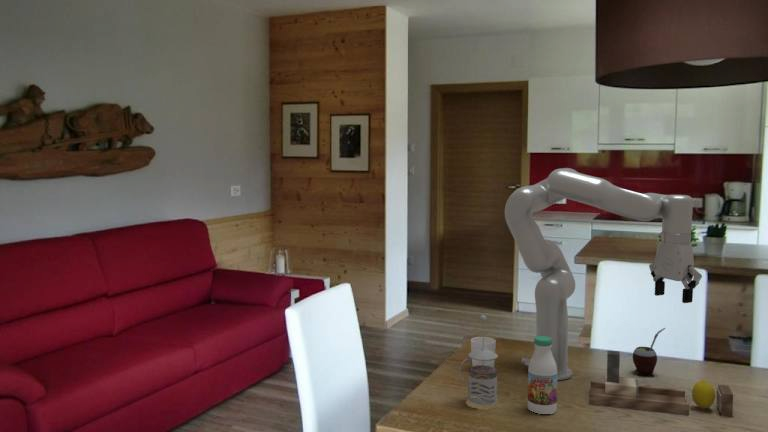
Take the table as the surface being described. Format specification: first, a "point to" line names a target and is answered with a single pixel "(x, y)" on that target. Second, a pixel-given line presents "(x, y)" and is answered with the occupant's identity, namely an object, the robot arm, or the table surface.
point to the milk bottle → (542, 378)
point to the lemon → (703, 394)
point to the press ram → (618, 379)
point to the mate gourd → (645, 359)
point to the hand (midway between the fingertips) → (672, 298)
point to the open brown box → (724, 400)
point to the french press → (482, 370)
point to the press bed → (642, 399)
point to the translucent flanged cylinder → (478, 344)
